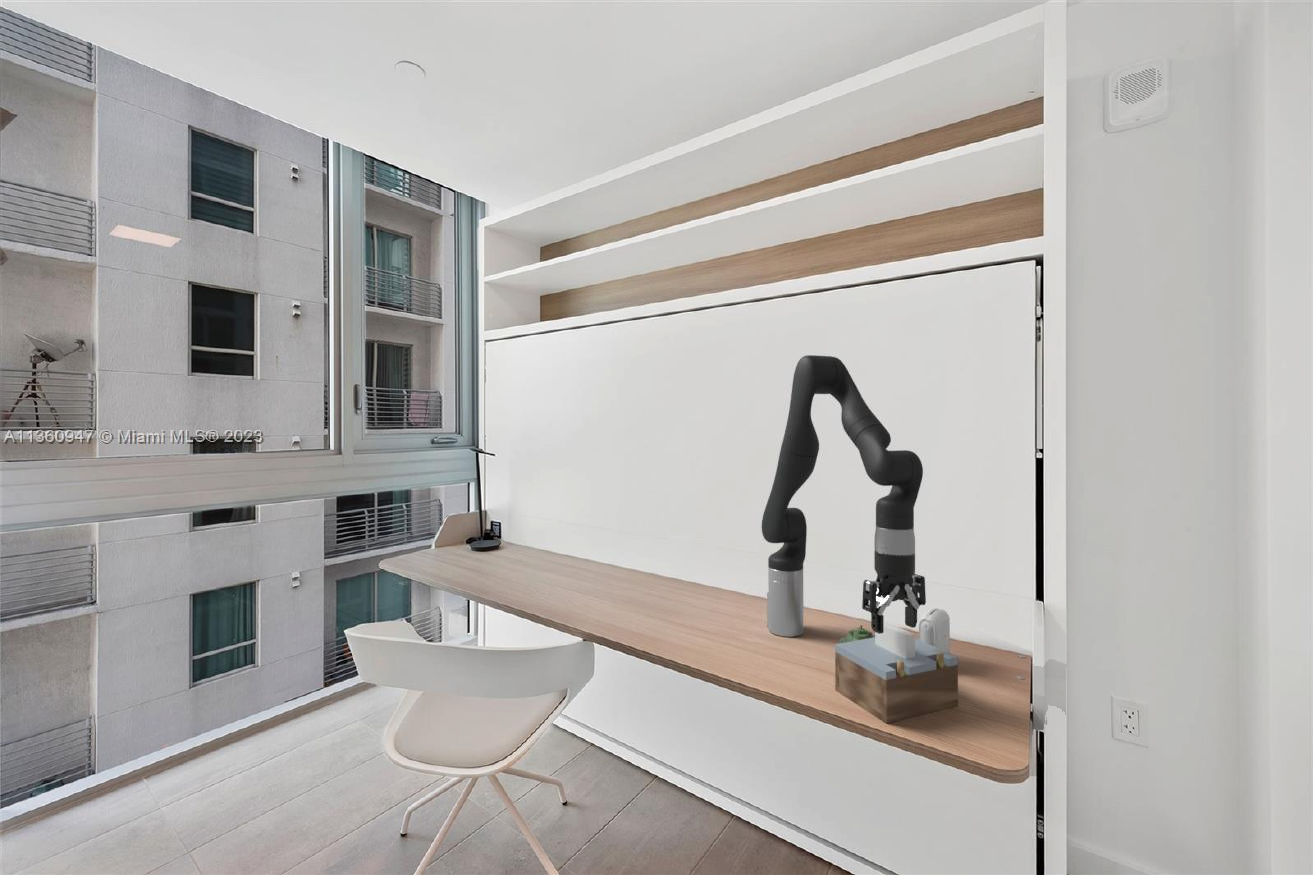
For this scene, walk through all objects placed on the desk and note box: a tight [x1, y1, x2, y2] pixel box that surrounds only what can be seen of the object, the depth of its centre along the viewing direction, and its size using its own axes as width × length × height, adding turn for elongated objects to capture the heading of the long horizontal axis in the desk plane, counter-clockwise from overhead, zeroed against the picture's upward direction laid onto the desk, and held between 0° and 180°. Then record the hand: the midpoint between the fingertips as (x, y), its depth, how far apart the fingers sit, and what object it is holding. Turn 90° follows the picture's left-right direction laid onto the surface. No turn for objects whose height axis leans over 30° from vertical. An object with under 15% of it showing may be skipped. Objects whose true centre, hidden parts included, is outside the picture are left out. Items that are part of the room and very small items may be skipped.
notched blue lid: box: [834, 620, 959, 680], centre depth 108 cm, size 14×18×6 cm
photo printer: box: [918, 607, 951, 654], centre depth 124 cm, size 10×4×12 cm, turn 133°
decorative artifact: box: [839, 624, 875, 644], centre depth 130 cm, size 10×7×10 cm
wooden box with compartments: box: [834, 651, 959, 725], centre depth 108 cm, size 14×18×10 cm
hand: (894, 629), depth 108 cm, fingers open, 8 cm apart
